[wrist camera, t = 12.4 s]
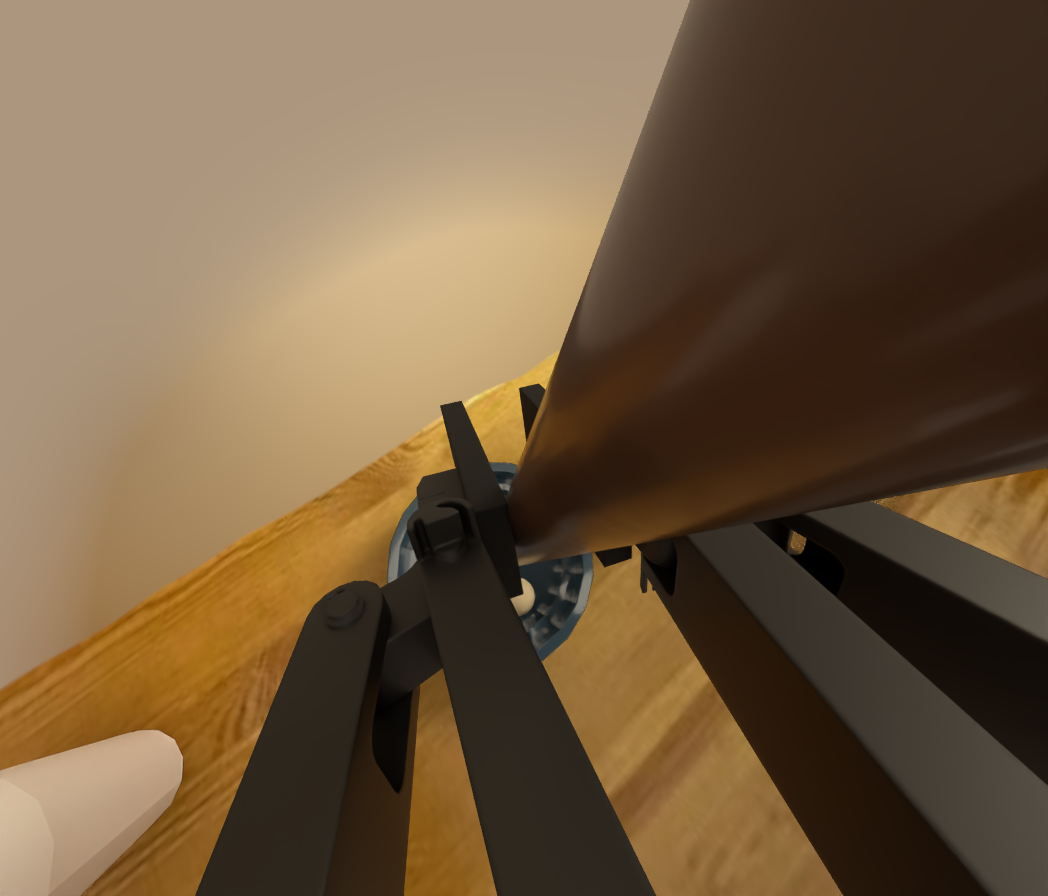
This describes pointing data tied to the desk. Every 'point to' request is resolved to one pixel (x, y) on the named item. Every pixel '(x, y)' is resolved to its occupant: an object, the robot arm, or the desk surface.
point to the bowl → (553, 581)
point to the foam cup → (82, 811)
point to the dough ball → (524, 599)
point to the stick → (807, 277)
